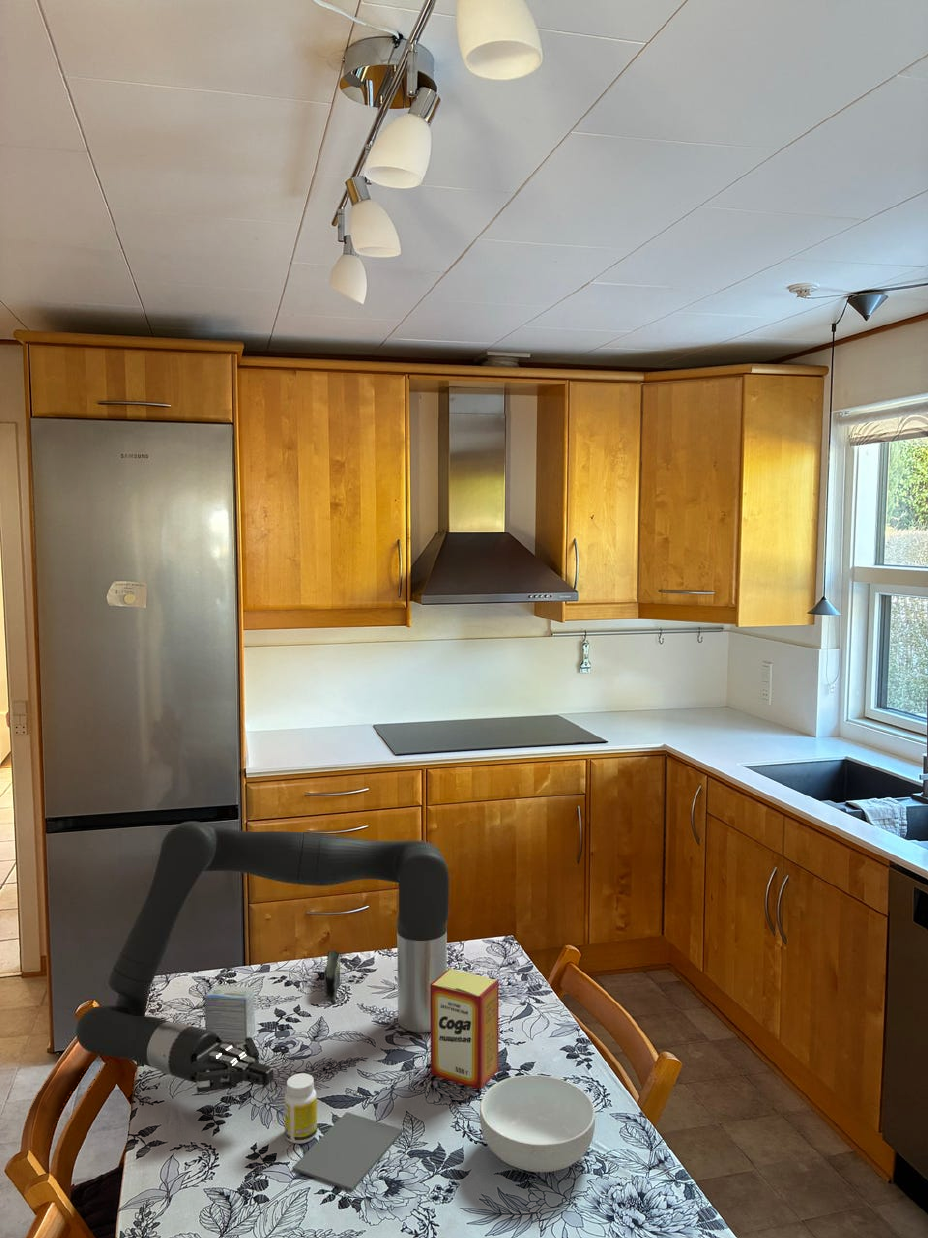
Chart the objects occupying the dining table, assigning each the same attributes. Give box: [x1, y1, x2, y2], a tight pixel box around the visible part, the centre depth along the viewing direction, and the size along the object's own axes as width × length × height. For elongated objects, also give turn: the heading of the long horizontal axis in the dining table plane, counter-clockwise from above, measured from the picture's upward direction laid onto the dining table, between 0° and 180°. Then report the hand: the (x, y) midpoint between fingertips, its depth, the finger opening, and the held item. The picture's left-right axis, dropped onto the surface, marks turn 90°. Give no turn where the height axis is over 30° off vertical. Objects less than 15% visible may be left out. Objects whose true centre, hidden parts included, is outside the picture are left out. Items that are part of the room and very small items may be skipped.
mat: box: [291, 1111, 404, 1192], centre depth 130 cm, size 10×14×1 cm
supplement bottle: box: [284, 1072, 318, 1145], centre depth 133 cm, size 5×5×8 cm
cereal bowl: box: [479, 1074, 596, 1173], centre depth 129 cm, size 17×17×7 cm
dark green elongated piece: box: [323, 950, 341, 1004], centre depth 180 cm, size 5×3×15 cm
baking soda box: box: [430, 968, 500, 1091], centre depth 149 cm, size 10×6×16 cm
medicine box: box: [204, 985, 256, 1045], centre depth 161 cm, size 8×4×9 cm, turn 84°
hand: (270, 1077), depth 135 cm, fingers closed
